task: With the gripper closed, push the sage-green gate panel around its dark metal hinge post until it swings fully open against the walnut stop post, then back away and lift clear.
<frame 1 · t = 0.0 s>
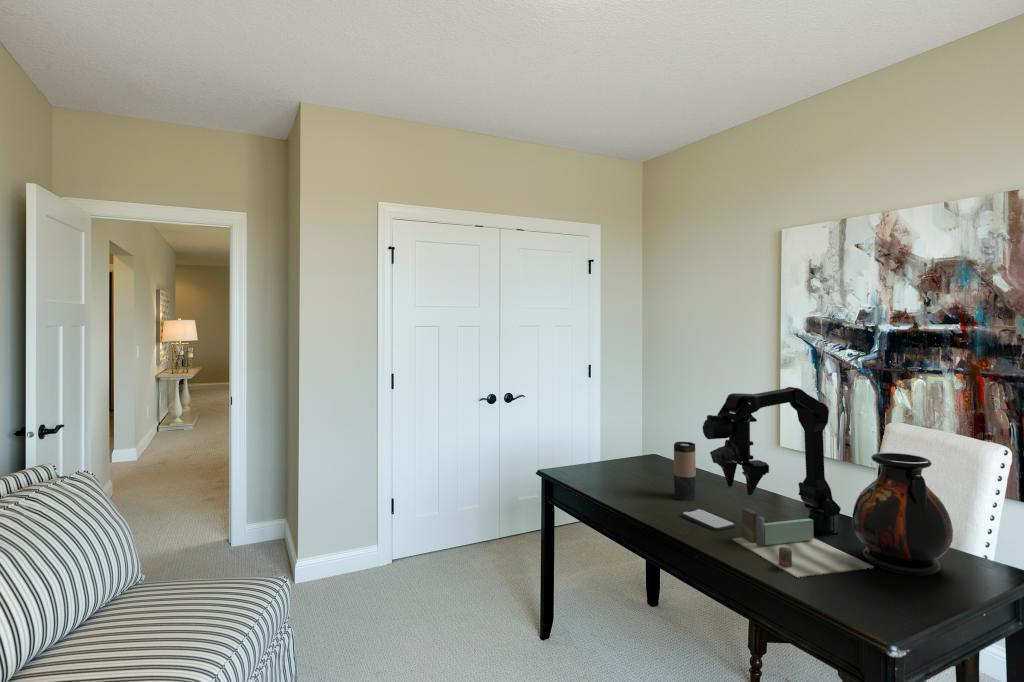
hand: (739, 490, 163), 15 cm above the table, tool pointing down, fingers open, 9 cm apart
amphora vase: (900, 565, 146), on the table
gate base: (798, 553, 154), on the table
gate: (784, 528, 160), point 5 cm above the table, hinge at 0.0°
phone case: (707, 523, 180), on the table
stop post: (785, 566, 146), resting on gate base
travel mug: (684, 498, 205), on the table
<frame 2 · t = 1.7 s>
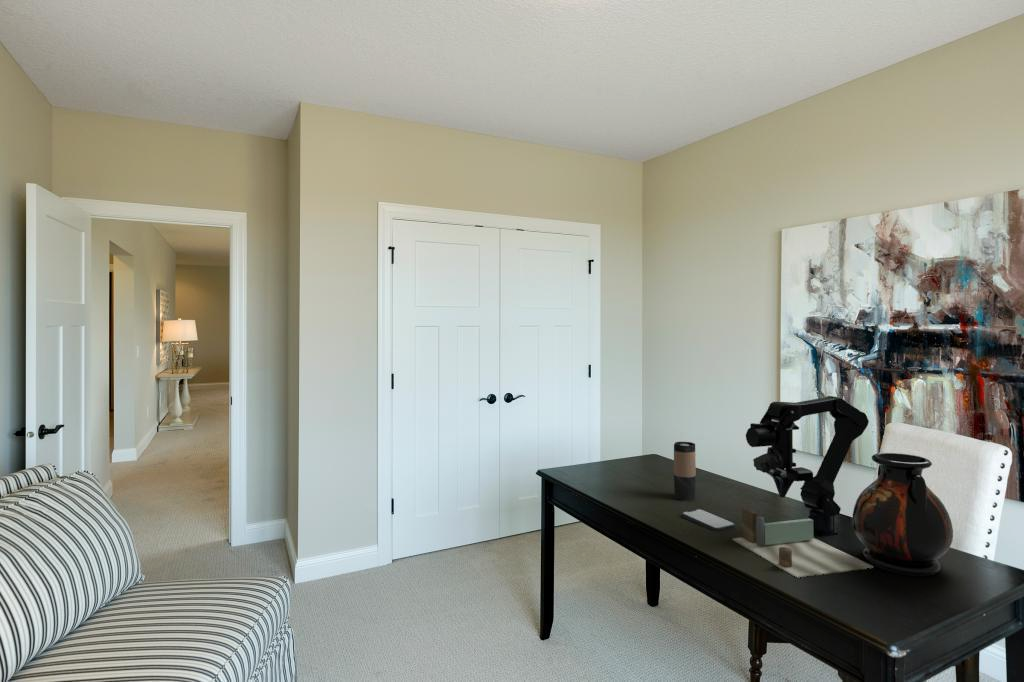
hand: (782, 497, 167), 12 cm above the table, tool pointing down, fingers closed
nothing on the table moved.
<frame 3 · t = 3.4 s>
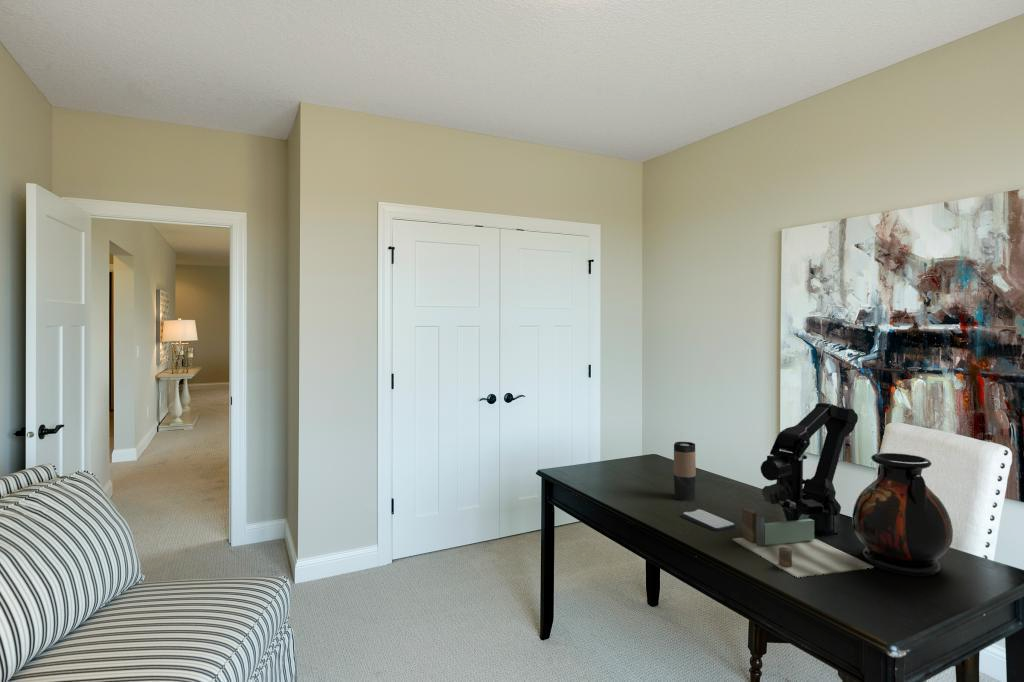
hand: (791, 528, 163), 4 cm above the table, tool pointing down, fingers closed
gate: (785, 528, 160), point 5 cm above the table, hinge at 1.1°, touching gripper
everything else where it was.
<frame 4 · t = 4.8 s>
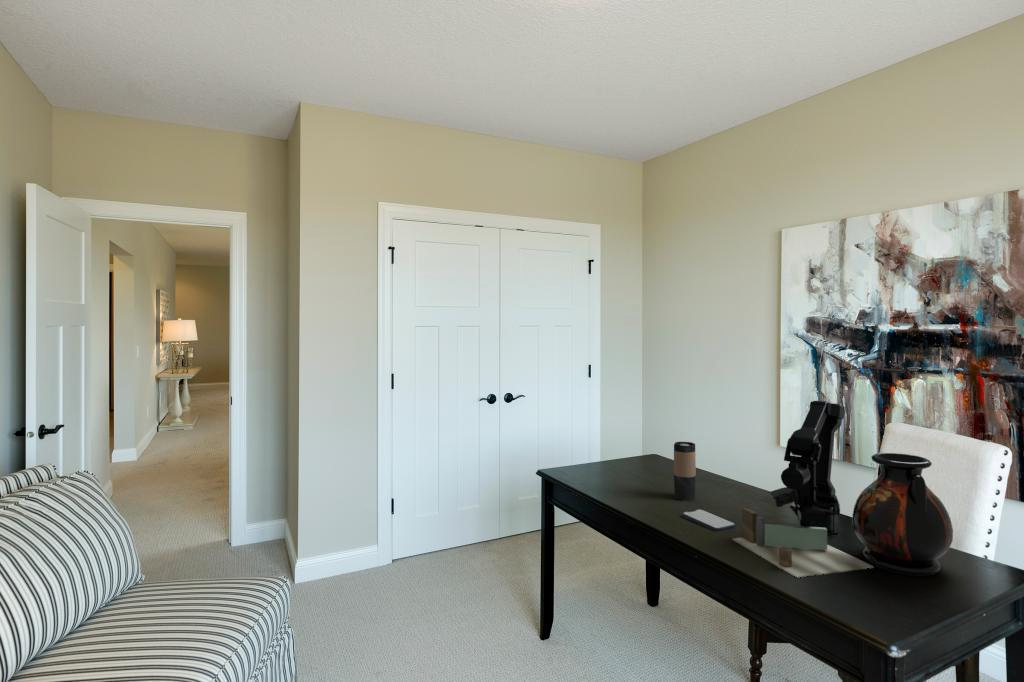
hand: (803, 534, 158), 4 cm above the table, tool pointing down, fingers closed
gate: (790, 532, 157), point 5 cm above the table, hinge at 25.7°, touching gripper
everything else where it was.
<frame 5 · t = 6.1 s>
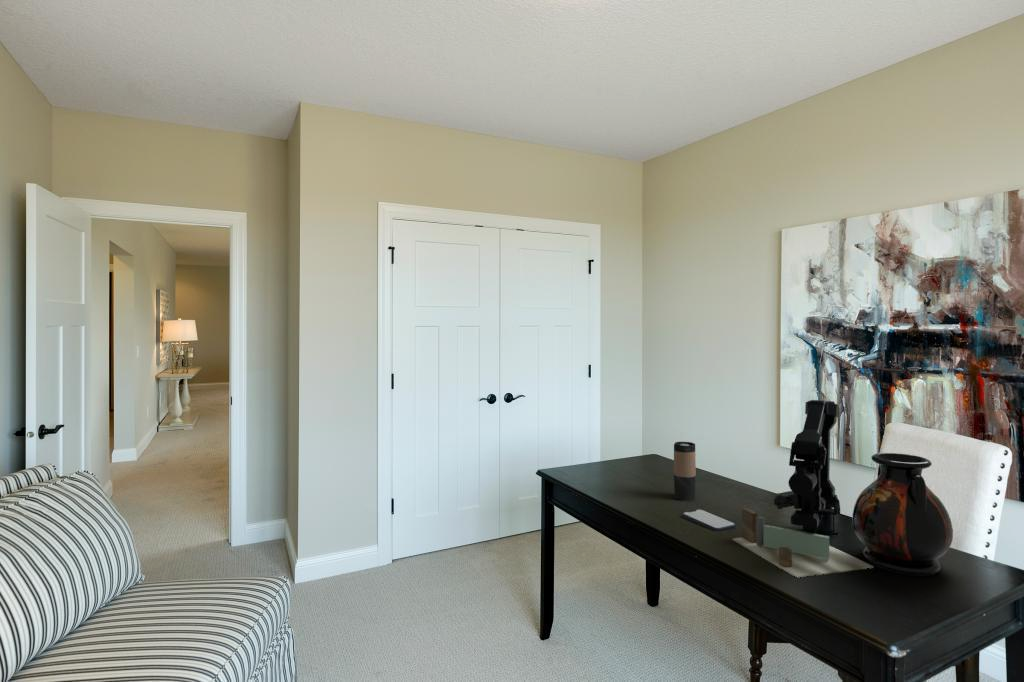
hand: (809, 541, 153), 4 cm above the table, tool pointing down, fingers closed
gate: (791, 536, 154), point 5 cm above the table, hinge at 49.3°, touching gripper
everything else where it was.
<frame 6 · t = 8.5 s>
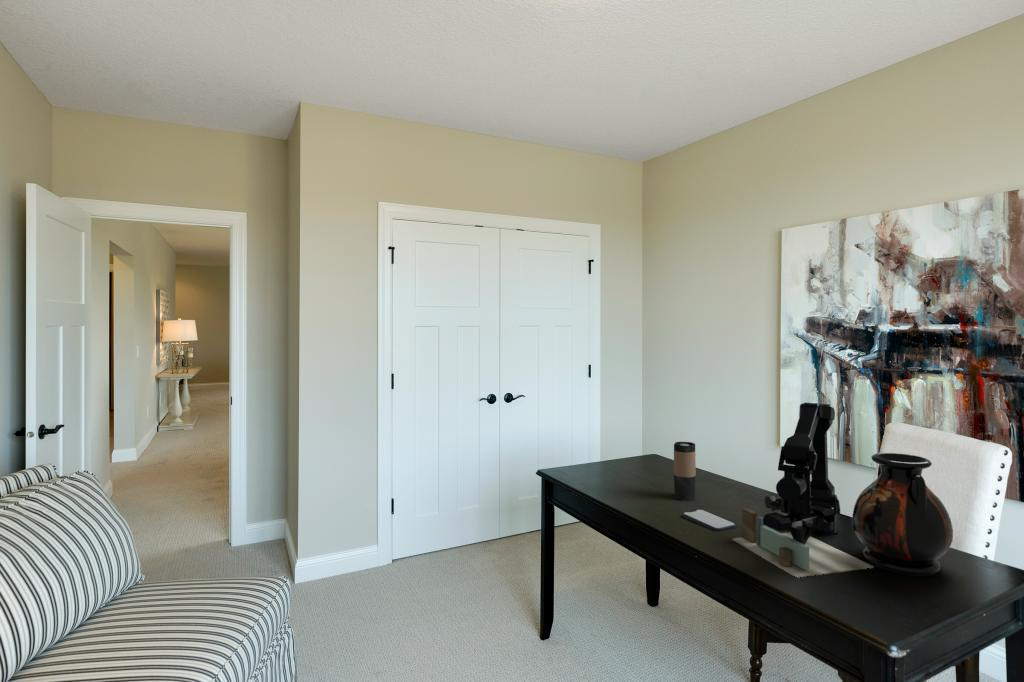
hand: (799, 549, 147), 4 cm above the table, tool pointing down, fingers closed
gate: (780, 541, 151), point 5 cm above the table, hinge at 87.9°, touching gripper
everything else where it was.
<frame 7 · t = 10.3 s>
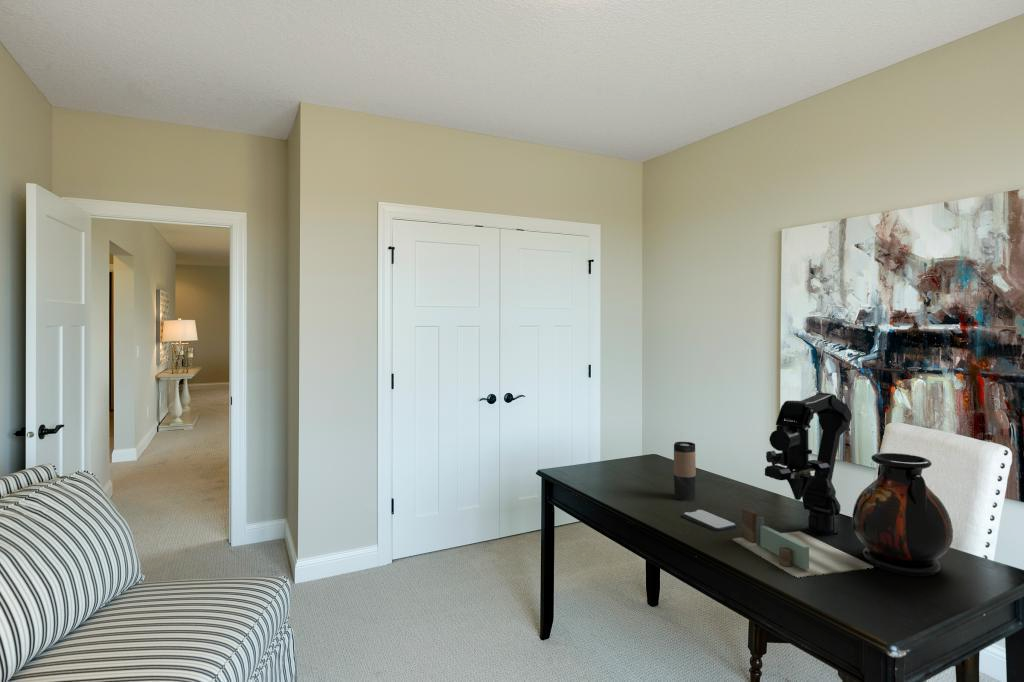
hand: (797, 499, 160), 13 cm above the table, tool pointing down, fingers closed
gate: (780, 541, 151), point 5 cm above the table, hinge at 88.1°
everything else where it was.
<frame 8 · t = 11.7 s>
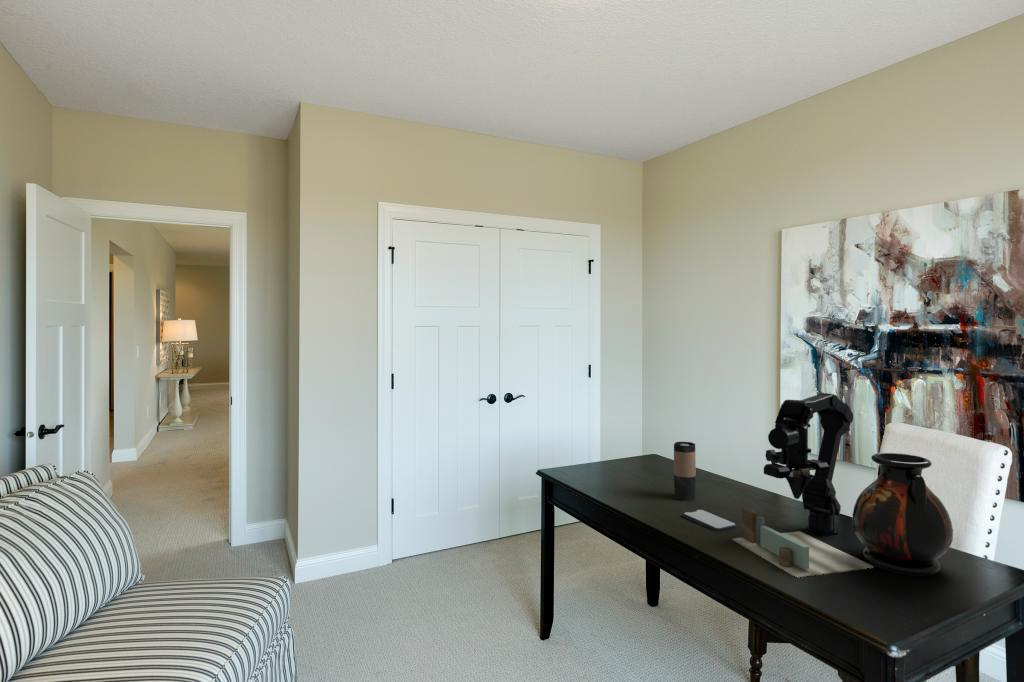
hand: (796, 498, 161), 13 cm above the table, tool pointing down, fingers closed
nothing on the table moved.
at the end: gate at +88° (first picture: +0°) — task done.
